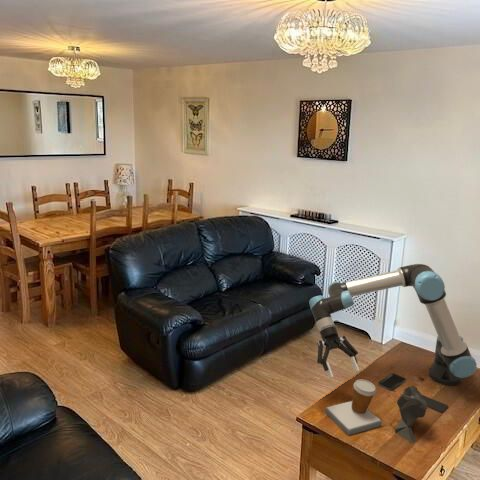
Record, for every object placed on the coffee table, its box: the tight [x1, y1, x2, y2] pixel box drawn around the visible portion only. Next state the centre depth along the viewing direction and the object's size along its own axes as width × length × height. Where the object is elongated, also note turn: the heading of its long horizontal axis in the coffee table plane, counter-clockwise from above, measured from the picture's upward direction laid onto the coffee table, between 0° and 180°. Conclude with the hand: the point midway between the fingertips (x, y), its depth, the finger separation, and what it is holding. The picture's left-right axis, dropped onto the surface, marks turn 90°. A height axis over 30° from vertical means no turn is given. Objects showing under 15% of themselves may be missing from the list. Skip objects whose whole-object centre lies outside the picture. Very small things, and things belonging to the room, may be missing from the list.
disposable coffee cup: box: [351, 379, 377, 414], centre depth 202 cm, size 10×10×12 cm
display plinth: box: [324, 400, 383, 436], centre depth 202 cm, size 17×17×2 cm
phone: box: [421, 394, 449, 414], centre depth 215 cm, size 7×1×15 cm
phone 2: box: [377, 373, 407, 392], centre depth 231 cm, size 8×1×15 cm
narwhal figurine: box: [394, 385, 428, 444], centre depth 195 cm, size 14×15×18 cm
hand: (344, 374), depth 205 cm, fingers open, 13 cm apart
